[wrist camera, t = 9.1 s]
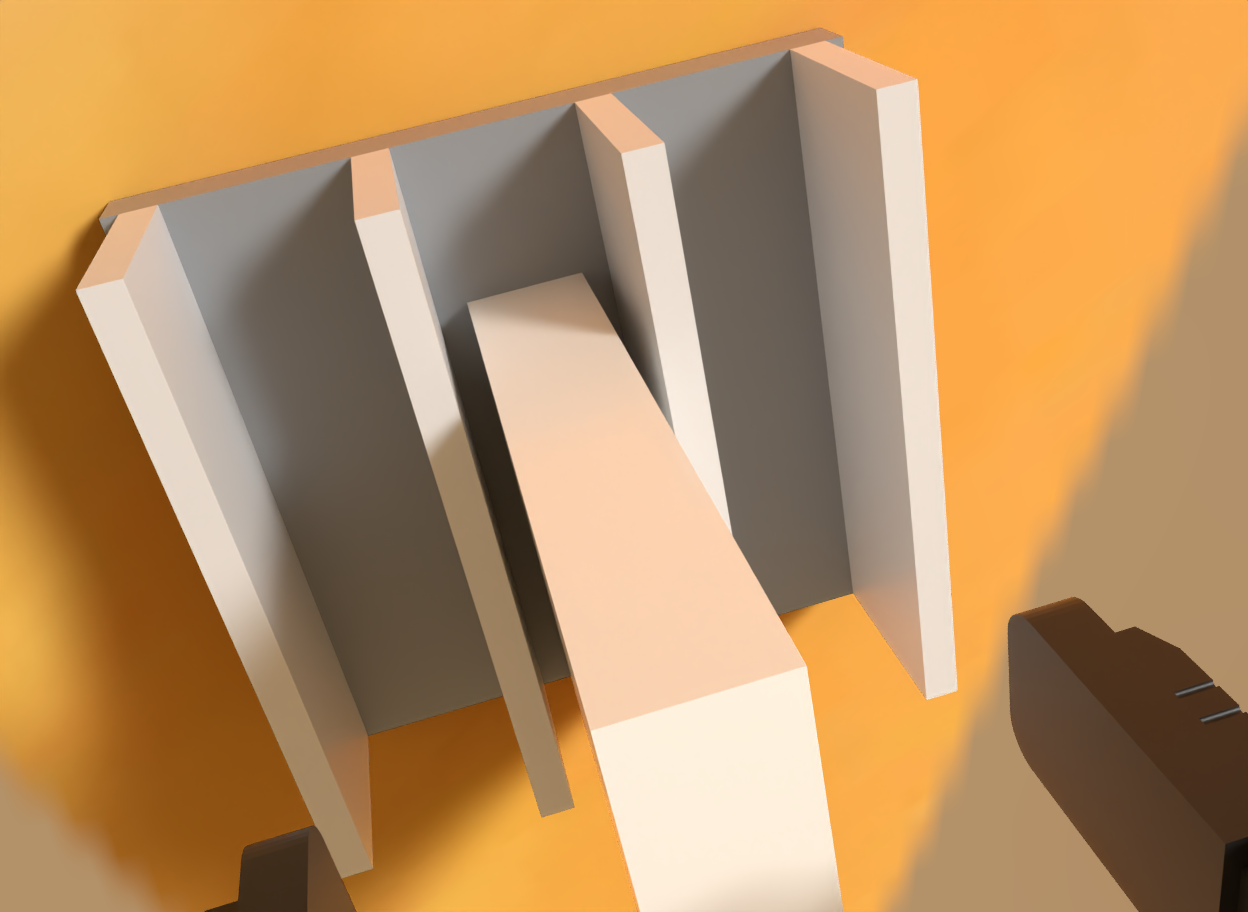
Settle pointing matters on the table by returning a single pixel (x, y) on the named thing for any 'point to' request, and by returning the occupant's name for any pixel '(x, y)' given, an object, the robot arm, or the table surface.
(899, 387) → the dish rack
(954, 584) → the table surface
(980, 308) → the table surface
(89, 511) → the table surface
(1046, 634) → the robot arm
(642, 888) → the cream upright slab
